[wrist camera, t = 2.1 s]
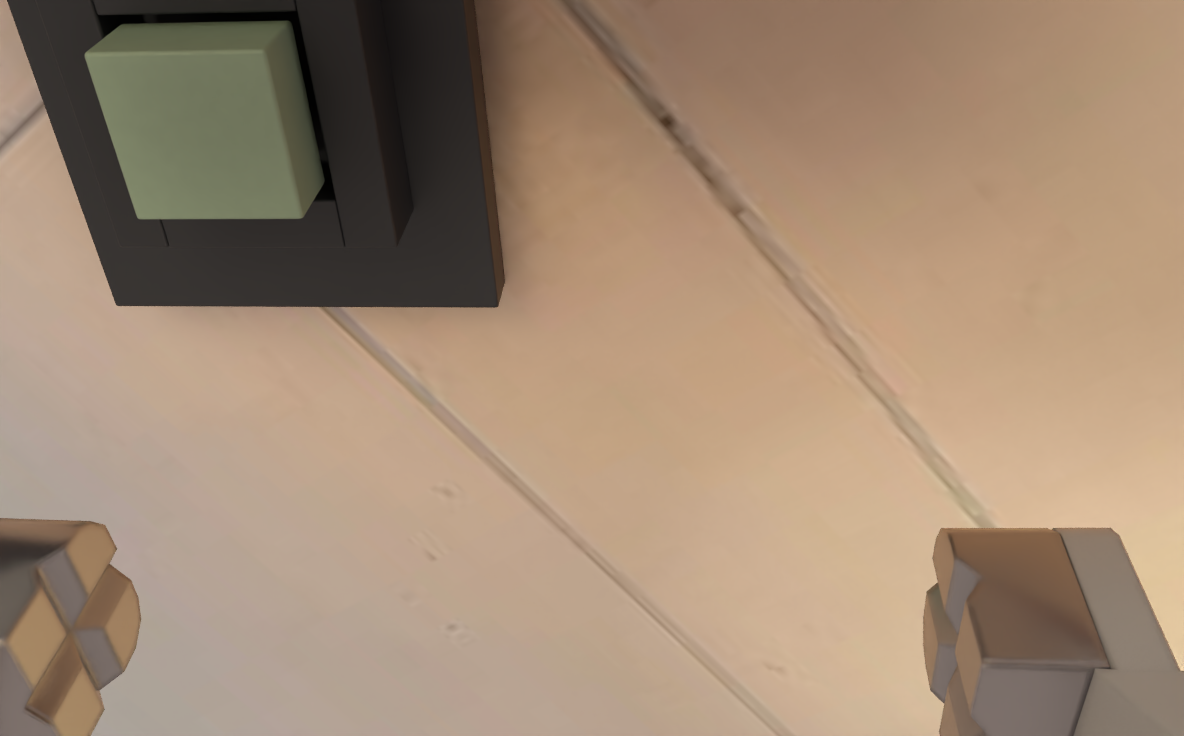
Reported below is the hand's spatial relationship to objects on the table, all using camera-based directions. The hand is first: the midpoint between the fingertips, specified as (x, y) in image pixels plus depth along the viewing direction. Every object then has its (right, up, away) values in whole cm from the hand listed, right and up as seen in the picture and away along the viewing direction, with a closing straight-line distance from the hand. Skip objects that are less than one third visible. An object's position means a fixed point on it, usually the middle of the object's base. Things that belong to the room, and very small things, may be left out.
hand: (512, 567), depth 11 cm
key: (-7, +7, +12) cm, 16 cm away
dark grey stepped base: (-7, +9, +14) cm, 18 cm away
